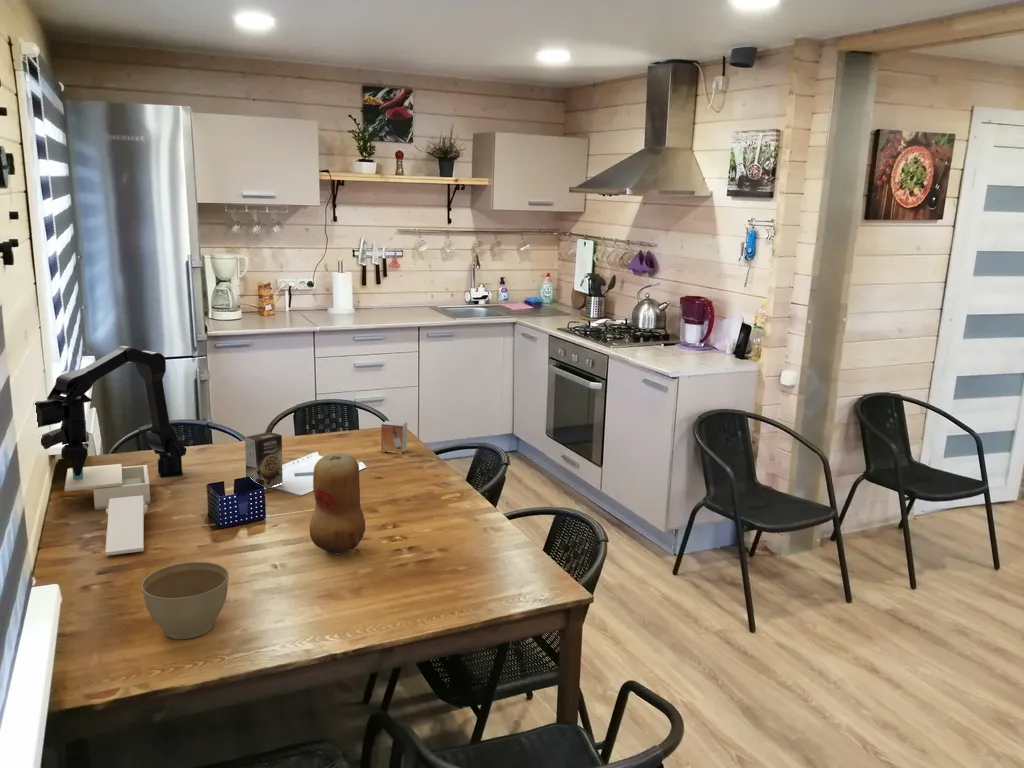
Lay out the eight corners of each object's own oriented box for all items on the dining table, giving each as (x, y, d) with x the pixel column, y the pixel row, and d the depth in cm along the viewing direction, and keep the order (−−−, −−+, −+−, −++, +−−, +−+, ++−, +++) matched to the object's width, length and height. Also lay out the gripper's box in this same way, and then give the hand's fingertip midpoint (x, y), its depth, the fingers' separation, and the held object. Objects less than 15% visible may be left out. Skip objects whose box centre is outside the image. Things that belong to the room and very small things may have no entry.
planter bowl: (181, 603, 172) (179, 556, 170) (246, 616, 167) (245, 568, 165) (126, 640, 157) (122, 589, 154) (196, 656, 152) (193, 603, 150)
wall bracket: (144, 574, 197) (144, 519, 221) (150, 548, 196) (149, 496, 219) (99, 571, 192) (104, 515, 216) (105, 544, 191) (109, 491, 215)
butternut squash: (298, 555, 197) (296, 458, 192) (329, 536, 210) (328, 444, 204) (346, 566, 192) (346, 467, 187) (375, 546, 205) (376, 452, 199)
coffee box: (258, 492, 239) (256, 440, 235) (245, 487, 243) (243, 436, 239) (283, 485, 246) (282, 434, 243) (270, 480, 250) (269, 430, 246)
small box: (380, 452, 282) (380, 423, 280) (385, 448, 288) (385, 420, 286) (402, 454, 281) (402, 425, 279) (407, 450, 287) (407, 421, 284)
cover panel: (121, 466, 238) (120, 447, 237) (122, 485, 223) (121, 465, 221) (67, 471, 232) (66, 452, 231) (64, 491, 216) (63, 470, 215)
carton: (147, 483, 243) (146, 464, 241) (150, 503, 227) (149, 483, 226) (95, 489, 236) (94, 469, 235) (94, 510, 221) (93, 489, 219)
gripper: (42, 413, 227) (47, 466, 230) (37, 430, 210) (42, 487, 214) (87, 410, 231) (91, 462, 235) (85, 427, 215) (89, 482, 218)
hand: (78, 473), depth 225 cm, fingers closed on cover panel, 4 cm apart
